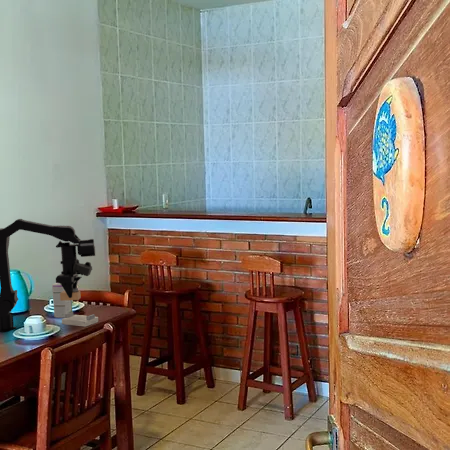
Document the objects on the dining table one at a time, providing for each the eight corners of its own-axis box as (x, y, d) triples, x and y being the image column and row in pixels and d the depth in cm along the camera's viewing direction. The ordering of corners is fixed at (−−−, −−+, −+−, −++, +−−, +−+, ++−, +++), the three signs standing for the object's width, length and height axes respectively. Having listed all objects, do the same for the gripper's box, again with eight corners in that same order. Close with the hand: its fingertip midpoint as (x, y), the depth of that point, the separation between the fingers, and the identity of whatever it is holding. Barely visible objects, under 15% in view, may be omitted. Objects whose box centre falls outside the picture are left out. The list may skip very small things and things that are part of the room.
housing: (60, 300, 247) (59, 290, 247) (63, 298, 251) (62, 288, 251) (77, 299, 247) (77, 289, 247) (80, 297, 251) (80, 287, 251)
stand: (85, 326, 246) (85, 317, 246) (62, 324, 252) (61, 315, 251) (98, 321, 253) (97, 313, 253) (75, 319, 259) (74, 311, 259)
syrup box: (66, 317, 262) (64, 283, 261) (53, 317, 263) (51, 283, 262) (72, 314, 268) (70, 281, 266) (60, 314, 269) (58, 281, 268)
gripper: (82, 260, 238) (85, 300, 239) (95, 253, 256) (98, 291, 258) (53, 261, 238) (56, 302, 240) (68, 254, 257) (71, 292, 259)
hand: (72, 296), depth 249 cm, fingers closed on housing, 4 cm apart
